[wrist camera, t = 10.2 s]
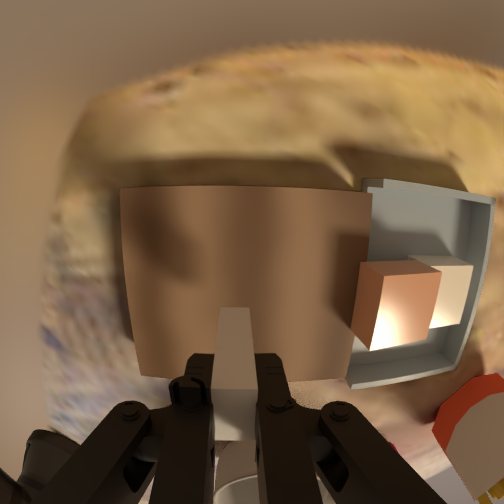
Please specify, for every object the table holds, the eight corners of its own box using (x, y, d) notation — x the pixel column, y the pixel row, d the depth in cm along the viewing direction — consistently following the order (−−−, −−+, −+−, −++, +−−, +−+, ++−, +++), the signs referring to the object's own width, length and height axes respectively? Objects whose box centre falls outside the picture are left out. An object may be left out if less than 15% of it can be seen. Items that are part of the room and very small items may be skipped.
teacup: (200, 452, 26) (193, 508, 19) (251, 399, 24) (254, 467, 17) (297, 480, 28) (305, 527, 21) (355, 435, 26) (375, 487, 19)
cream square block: (397, 313, 21) (414, 330, 19) (408, 255, 20) (428, 266, 17) (441, 309, 22) (459, 323, 19) (452, 255, 20) (473, 265, 18)
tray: (339, 365, 24) (350, 389, 20) (362, 178, 20) (383, 178, 16) (438, 351, 24) (456, 369, 21) (469, 194, 20) (495, 198, 17)
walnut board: (150, 355, 23) (140, 375, 20) (136, 186, 19) (119, 188, 17) (335, 357, 23) (345, 377, 20) (355, 191, 20) (372, 193, 17)
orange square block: (350, 329, 19) (369, 350, 16) (360, 261, 18) (384, 276, 15) (404, 321, 20) (426, 338, 17) (416, 259, 19) (442, 272, 16)
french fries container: (489, 380, 26) (557, 454, 9) (430, 430, 28) (484, 521, 10) (486, 363, 25) (565, 442, 8) (423, 418, 27) (485, 519, 9)
